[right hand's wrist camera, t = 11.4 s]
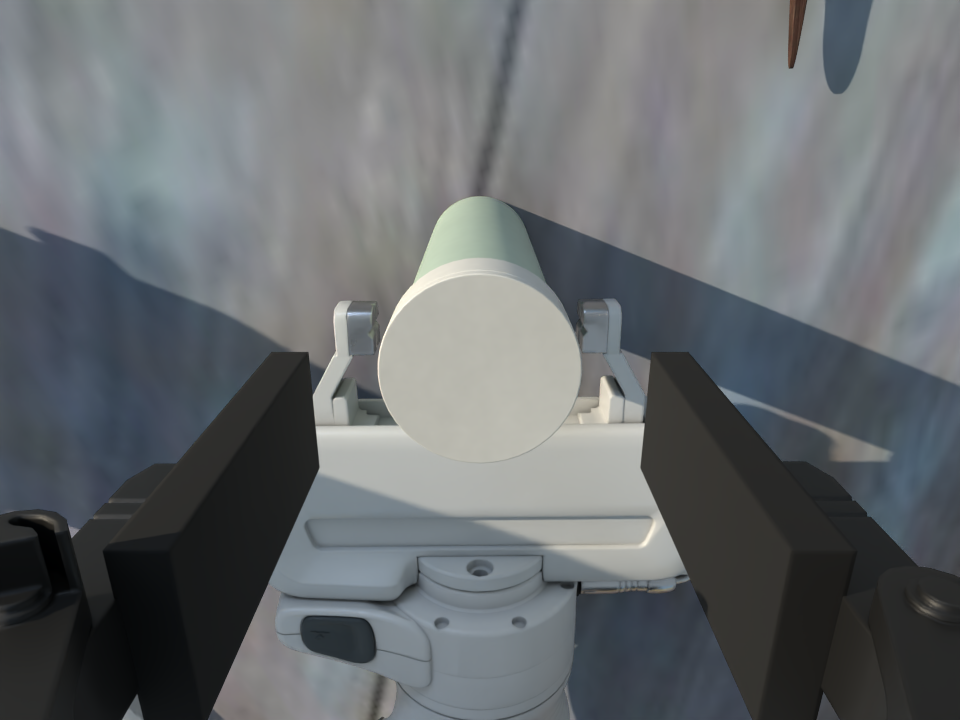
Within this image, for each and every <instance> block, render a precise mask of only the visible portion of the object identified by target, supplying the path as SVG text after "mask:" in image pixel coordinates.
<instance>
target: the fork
mask: <svg viewBox="0 0 960 720" xmlns="http://www.w3.org/2000/svg"><path fill="white" fill-rule="evenodd" d="M806 4H807V0H790V14H789V41H788V66H789V69H790V68H793V67H794V64H795V60H796V55H797V51H798V46H799V41H800V36H801V30H802V25H803V20H804V14H805V9H806Z"/></svg>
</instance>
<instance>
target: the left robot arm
mask: <svg viewBox="0 0 960 720" xmlns="http://www.w3.org/2000/svg"><path fill="white" fill-rule="evenodd" d="M577 313H578V316H579V318H580V319H579V320H578V322H577V323H576V337H577V340H578V343H579V344H580V349H581V351H582V353H602V354H603V356H604V357H605V359H606V361H607V363H608V365H609V366H610V368H611V370H612V372H613V374H614V375H615V378H614V377H613V376H603V377H602V378H601V383H600V396H599V397H577V399H576V402H575V404H574V407H573V409H572V410H571V412H570V414H569V416H568V417H567V419H566V420H565V421H564V423H563V424H562V425H561V427H560V428H559V429H558V430H557V431H556V432H555V433H554V434H553V435H552V436H551V437H550V438H549V439H547V440H546V441H545V442H544V443H542V444H541V445H539V446H538V447H536V448H534V449H533V450H531V451H529V452H527V453H525V454H523V455H520V456H518V457H515V458H512V459H508V460H504V461H499V462H493V463H467V462H461V461H456V460H452V459H448V458H445V457H442V456H440V455H437V454H435V453H433V452H431V451H429V450H427V449H426V448H424V447H422V446H421V445H419V444H418V443H417V442H415V441H414V440H412V439H411V438H410V437H409V436H408V435H407V434H406V433H405V432H404V431H403V430H402V429H401V428H400V426H399V425H398V424H397V423H396V422H395V420H394V419H393V417H392V415H391V414H390V412H389V411H388V408H387V406H386V404H385V402H384V400H383V399H358V395H357V385H356V380H355V379H354V378H345V379H343V380H342V377H343V375H344V373H345V371H346V369H347V367H348V365H349V363H350V362H351V360H352V358H353V356H354V355H374V354H375V351H376V349H377V348H376V346H377V345H378V344H379V342H380V326H379V324H378V322H377V321H376V319H377V317H378V314H379V311H378V303H377V301H340V302H339V303H338V305H337V306H336V308H335V310H334V332H335V343H336V352H335V354H334V356H333V358H332V360H331V362H330V364H329V365H328V367H327V369H326V371H325V373H324V375H323V377H322V379H321V381H320V383H319V385H318V387H317V389H316V391H315V393H314V394H313V404H314V415H315V425H316V435H317V445H318V455H319V465H320V468H319V471H318V473H317V475H316V477H315V480H314V482H313V484H312V486H311V489H310V491H309V493H308V495H307V498H306V500H305V502H304V504H303V506H302V509H301V511H300V513H299V515H298V518H297V520H296V522H295V524H294V527H293V529H292V531H291V533H290V536H289V538H288V540H287V542H286V545H285V547H284V549H283V551H282V554H281V556H280V558H279V560H278V563H277V565H276V567H275V569H274V572H273V574H272V576H271V578H270V581H269V583H268V584H270V585H271V586H272V587H274V588H275V589H277V590H279V591H281V595H280V598H279V603H278V607H277V612H276V618H275V628H276V634H277V637H278V639H279V641H280V642H281V643H282V644H283V645H284V646H286V647H288V648H290V649H292V650H295V651H299V652H303V653H307V654H311V655H315V656H320V657H324V658H328V659H332V660H336V661H339V662H343V663H346V664H350V665H353V666H356V667H360V668H363V669H366V670H369V671H371V672H374V673H377V674H380V675H382V676H384V677H387V678H389V679H392V680H394V681H395V682H396V688H397V693H396V700H395V705H394V709H393V712H392V714H391V715H390V716H389V717H388V718H384V717H381V718H380V719H379V720H570V713H569V706H568V701H567V696H566V693H565V690H564V689H565V687H566V685H567V682H568V679H569V676H570V674H571V669H572V664H573V657H574V639H575V620H576V596H578V595H579V594H615V593H618V592H619V593H623V592H630V591H631V592H633V591H645V592H646V593H654V594H656V593H667V592H671V591H674V590H675V589H676V584H680V583H684V582H687V581H689V580H690V578H689V576H688V574H687V572H686V569H685V567H684V565H683V563H682V560H681V558H680V556H679V554H678V551H677V549H676V547H675V545H674V542H673V540H672V538H671V536H670V533H669V531H668V529H667V527H666V524H665V522H664V520H663V518H662V515H661V513H660V511H659V509H658V506H657V504H656V502H655V500H654V498H653V495H652V493H651V491H650V489H649V486H648V484H647V482H646V480H645V477H644V475H643V473H642V471H641V468H640V465H641V455H642V445H643V435H644V425H645V415H646V404H647V396H645V394H644V392H643V390H642V388H641V386H640V385H639V383H638V381H637V379H636V377H635V375H634V373H633V371H632V370H631V368H630V366H629V364H628V362H627V360H626V358H625V357H624V355H623V353H622V351H621V350H620V340H621V325H622V312H621V306H620V304H619V303H618V302H617V300H616V299H579V300H578V304H577Z"/></svg>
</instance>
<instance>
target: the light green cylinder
mask: <svg viewBox="0 0 960 720" xmlns="http://www.w3.org/2000/svg"><path fill="white" fill-rule="evenodd" d="M468 258H492V259H498V260H504V261H507V262H510V263H513V264H516V265H518V266H520V267H522V268H525V269H527V270H528V271H530V272H532V273H533V274H535V275H536V276H538V277H539V278H540V279H541V280H542V281H544V282H545V283H546V281H545V278H544V276H543V273H542V271H541V268H540V265H539V263H538V260H537V257H536V255H535V252H534V249H533V247H532V244H531V241H530V239H529V236H528V234H527V231H526V228H525V226H524V224H523V222H522V220H521V218H520V217H519V215H518V214H517V213H516V212H515V211H514V210H513V209H512V208H511V207H510V206H508V205H507V204H505V203H504V202H502V201H500V200H497V199H494V198H491V197H484V196H476V197H470V198H466V199H463V200H460V201H458V202H456V203H455V204H453V205H452V206H450V207H449V208H448V209H447V210H446V211H445V212H444V213H443V214H442V215H441V217H440V218H439V220H438V222H437V224H436V226H435V228H434V231H433V234H432V236H431V239H430V241H429V244H428V247H427V249H426V252H425V255H424V257H423V260H422V263H421V265H420V268H419V271H418V273H417V276H416V278H415V281H414V283H415V282H416V281H418V280H419V279H420V278H421V277H423V276H424V275H425V274H427V273H428V272H430V271H432V270H434V269H436V268H438V267H439V266H442V265H444V264H447V263H450V262H453V261H457V260H462V259H468Z"/></svg>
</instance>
